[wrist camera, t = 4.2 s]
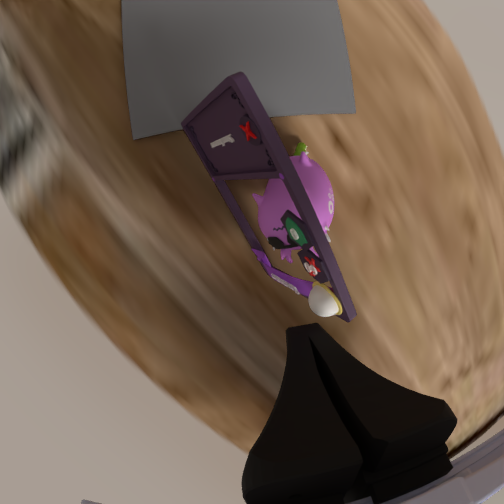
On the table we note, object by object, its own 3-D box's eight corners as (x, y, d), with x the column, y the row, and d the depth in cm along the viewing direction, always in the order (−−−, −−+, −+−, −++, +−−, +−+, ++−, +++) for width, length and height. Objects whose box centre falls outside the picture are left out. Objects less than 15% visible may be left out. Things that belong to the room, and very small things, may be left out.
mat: (353, 113, 13) (356, 113, 13) (135, 139, 13) (133, 139, 13) (327, -29, 10) (328, -31, 9) (123, -8, 9) (121, -10, 9)
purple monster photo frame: (205, 84, 6) (336, 337, 10) (341, 39, 7) (419, 253, 11) (166, 131, 12) (256, 282, 16) (255, 86, 13) (325, 229, 17)
